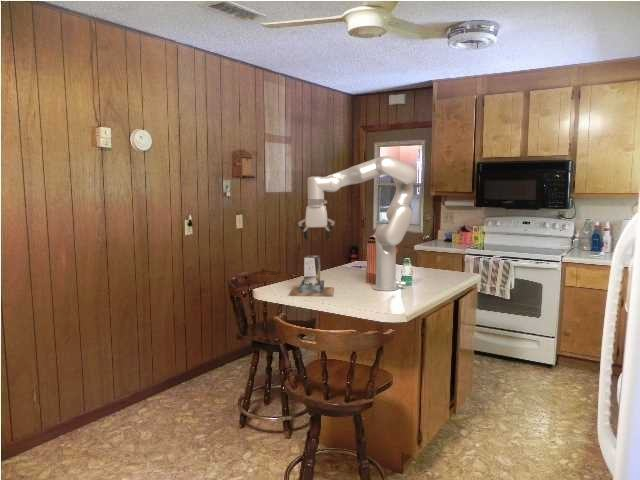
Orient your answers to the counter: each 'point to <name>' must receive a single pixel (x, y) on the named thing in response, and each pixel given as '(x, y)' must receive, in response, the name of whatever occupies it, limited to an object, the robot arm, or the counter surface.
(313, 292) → the dock
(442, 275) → the counter surface
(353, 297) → the counter surface
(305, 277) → the coffee box
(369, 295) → the counter surface
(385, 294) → the counter surface
